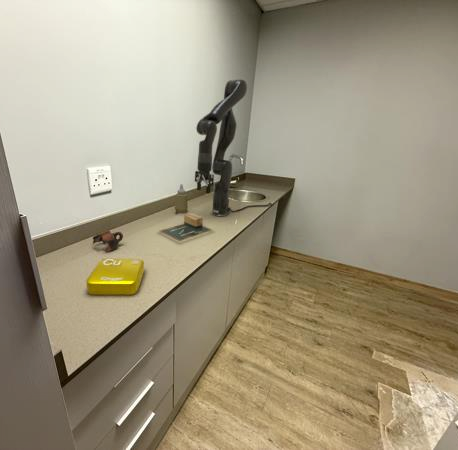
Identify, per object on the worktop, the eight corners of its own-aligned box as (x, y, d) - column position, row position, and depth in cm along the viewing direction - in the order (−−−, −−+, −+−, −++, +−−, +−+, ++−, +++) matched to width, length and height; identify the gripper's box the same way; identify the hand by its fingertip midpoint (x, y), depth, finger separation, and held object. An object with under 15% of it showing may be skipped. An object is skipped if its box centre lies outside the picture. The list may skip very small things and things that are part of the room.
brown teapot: (99, 256, 96) (90, 237, 95) (98, 256, 104) (90, 238, 104) (128, 243, 101) (119, 225, 100) (125, 243, 110) (117, 227, 109)
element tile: (85, 295, 72) (83, 281, 71) (102, 268, 86) (101, 257, 85) (136, 295, 73) (135, 282, 72) (145, 269, 87) (144, 257, 86)
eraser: (191, 222, 133) (191, 213, 131) (202, 226, 127) (202, 217, 125) (184, 223, 129) (184, 215, 128) (195, 228, 123) (195, 219, 122)
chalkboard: (191, 223, 134) (191, 221, 134) (212, 232, 124) (212, 229, 123) (158, 233, 119) (158, 230, 119) (179, 243, 109) (179, 241, 108)
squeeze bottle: (181, 210, 156) (182, 182, 149) (190, 213, 150) (191, 184, 144) (171, 212, 150) (171, 184, 144) (180, 216, 145) (180, 186, 138)
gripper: (218, 162, 124) (216, 193, 130) (202, 159, 135) (201, 188, 140) (207, 163, 120) (205, 195, 126) (191, 160, 131) (190, 189, 136)
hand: (203, 191), depth 133 cm, fingers open, 8 cm apart
